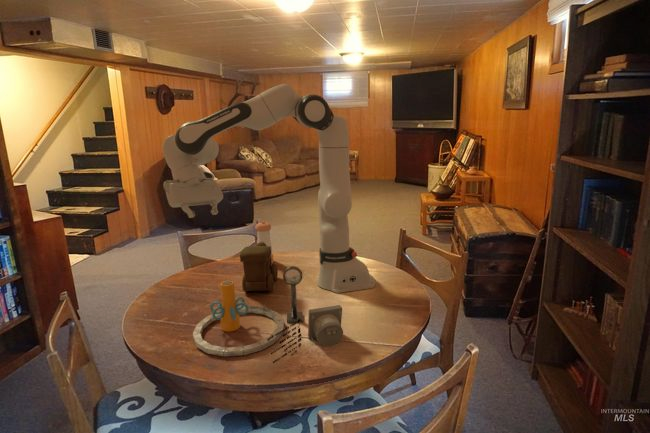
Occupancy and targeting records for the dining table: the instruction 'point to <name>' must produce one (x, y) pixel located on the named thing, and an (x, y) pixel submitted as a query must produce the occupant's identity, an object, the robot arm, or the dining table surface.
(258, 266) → the brown backpack
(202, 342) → the ring
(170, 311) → the dining table surface
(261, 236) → the salt shaker
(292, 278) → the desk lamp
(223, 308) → the orange vase with loops
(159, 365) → the dining table surface
